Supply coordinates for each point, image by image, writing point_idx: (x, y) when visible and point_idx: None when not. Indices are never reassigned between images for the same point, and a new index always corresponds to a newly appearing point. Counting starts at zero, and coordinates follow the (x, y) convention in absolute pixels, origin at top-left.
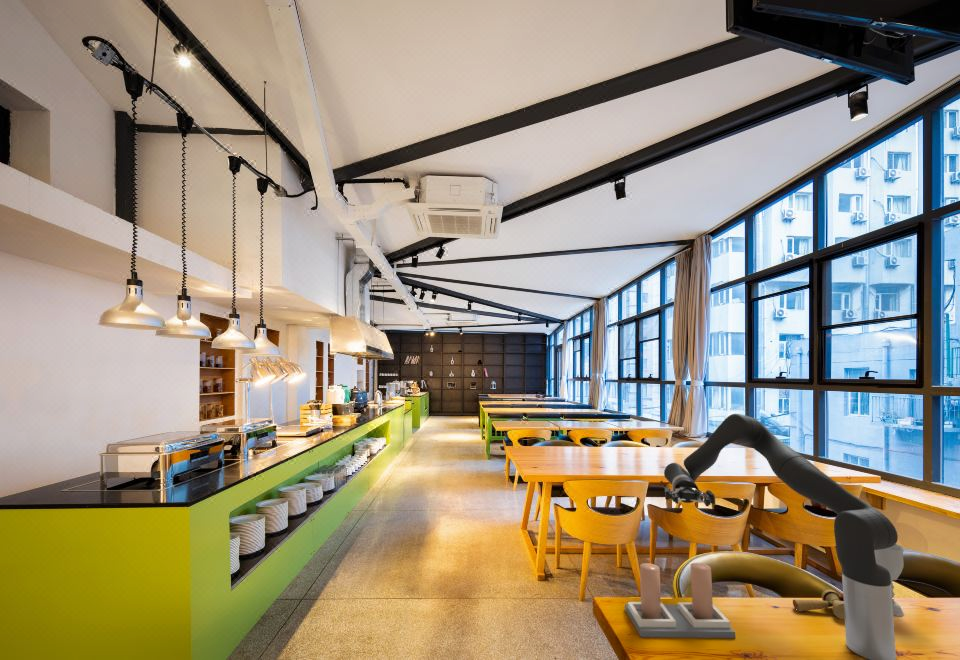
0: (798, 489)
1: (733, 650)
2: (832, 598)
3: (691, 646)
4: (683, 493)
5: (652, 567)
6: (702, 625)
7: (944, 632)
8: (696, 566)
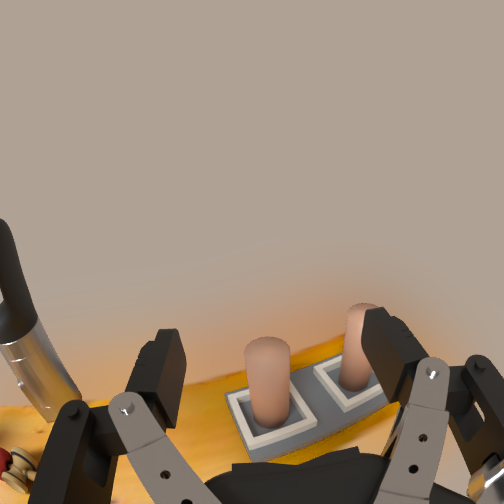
0: None
1: (236, 373)
2: (16, 471)
3: (290, 362)
4: (358, 452)
5: (361, 314)
6: None
7: None
8: (276, 348)
